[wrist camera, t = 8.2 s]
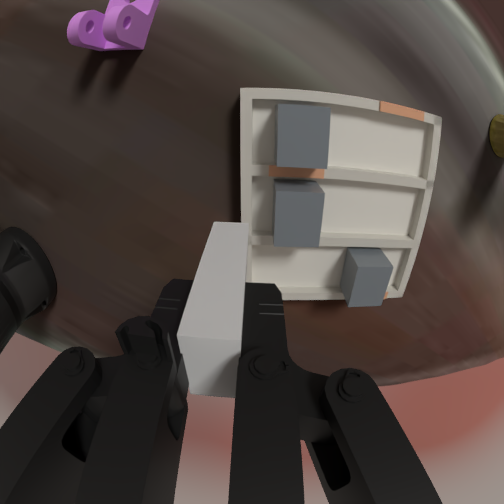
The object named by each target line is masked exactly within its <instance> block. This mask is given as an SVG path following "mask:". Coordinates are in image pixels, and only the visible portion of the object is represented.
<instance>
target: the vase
mask: <svg viewBox="0 0 504 504" xmlns="http://www.w3.org/2000/svg"><path fill="white" fill-rule="evenodd" d="M489 134H490V142H491V146H492V149H493V151H494V152H495V154H496V155H497V156H498V157H501V158H504V115H501V114H498V115H496V116H495V117H494V118H493V120H492V122H491V125H490V132H489Z"/></svg>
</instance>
